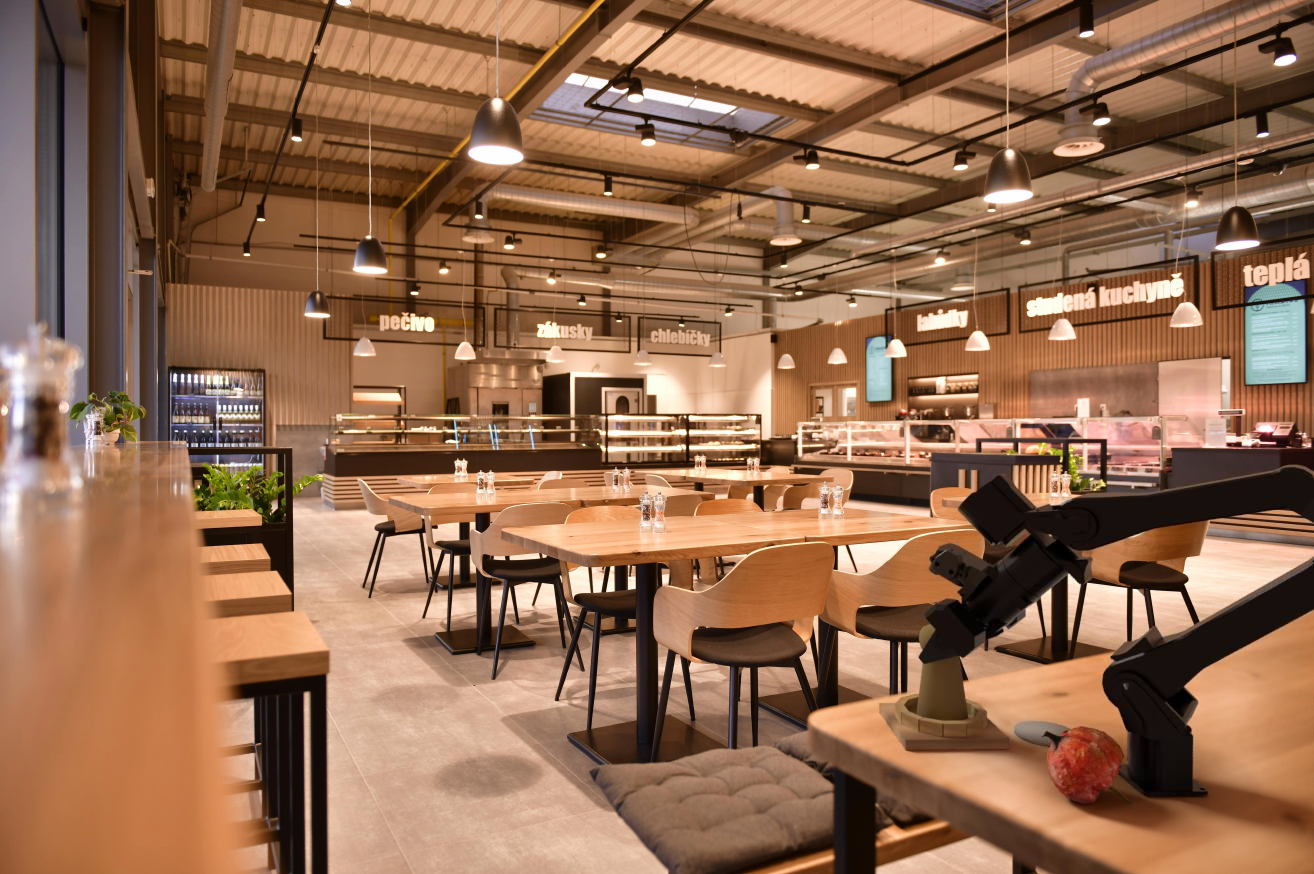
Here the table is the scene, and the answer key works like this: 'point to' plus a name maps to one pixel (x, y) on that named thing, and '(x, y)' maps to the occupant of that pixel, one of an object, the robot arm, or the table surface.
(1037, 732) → the grey coaster
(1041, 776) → the table surface
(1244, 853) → the table surface
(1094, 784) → the pomegranate
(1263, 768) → the table surface
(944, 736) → the hub board
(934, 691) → the olive green peg
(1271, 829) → the table surface
